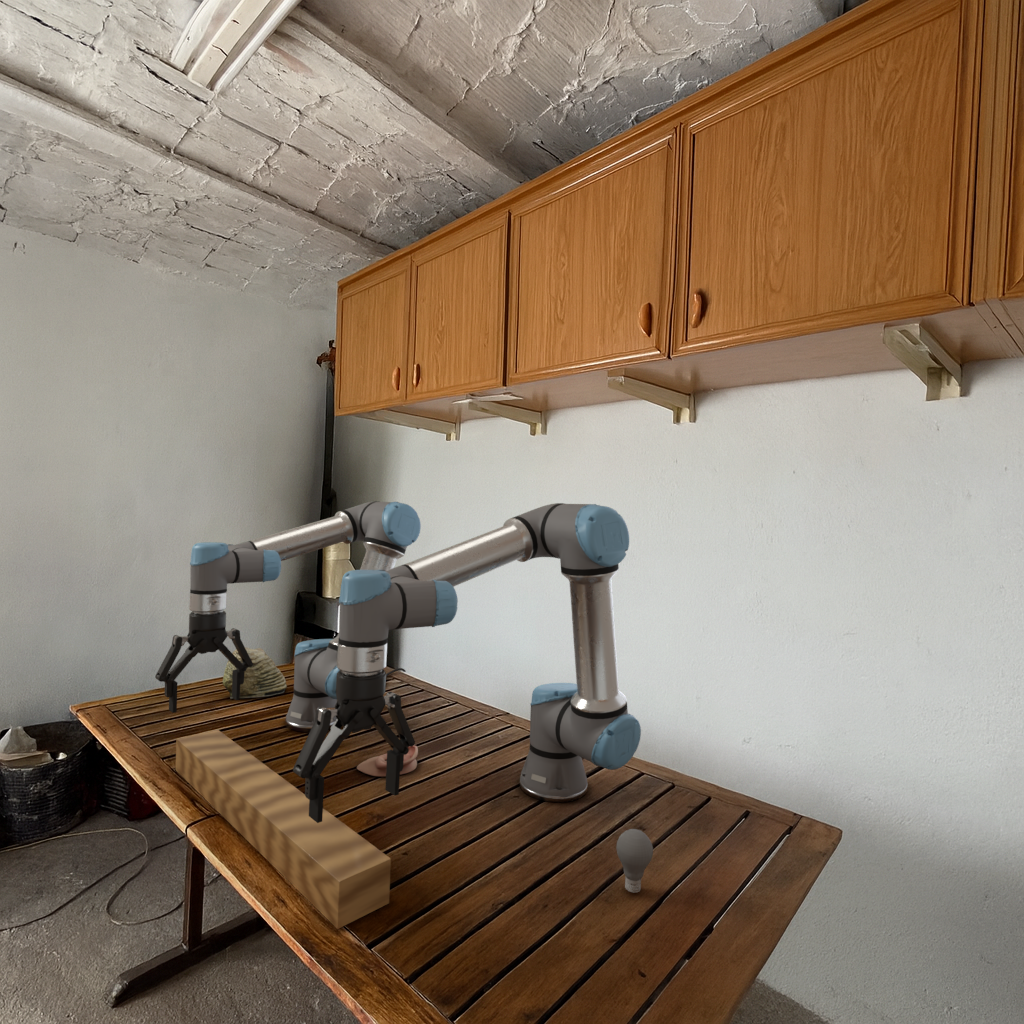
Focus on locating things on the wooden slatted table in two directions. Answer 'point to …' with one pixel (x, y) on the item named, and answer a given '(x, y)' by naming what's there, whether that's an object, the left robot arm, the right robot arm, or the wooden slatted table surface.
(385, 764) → the anatomical model
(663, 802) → the wooden slatted table surface
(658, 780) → the wooden slatted table surface
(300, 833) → the long beam
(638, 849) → the light bulb
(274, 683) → the fossil
